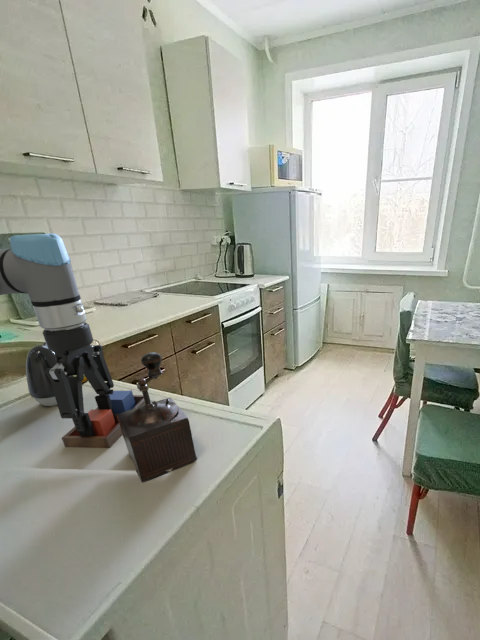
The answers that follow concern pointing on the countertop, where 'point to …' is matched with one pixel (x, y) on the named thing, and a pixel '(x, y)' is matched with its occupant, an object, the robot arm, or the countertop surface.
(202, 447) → the countertop surface
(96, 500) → the countertop surface
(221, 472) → the countertop surface
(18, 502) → the countertop surface
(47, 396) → the black tapered dome
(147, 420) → the manual coffee grinder
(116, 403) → the slate-blue block
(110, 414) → the terracotta block
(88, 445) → the tray
